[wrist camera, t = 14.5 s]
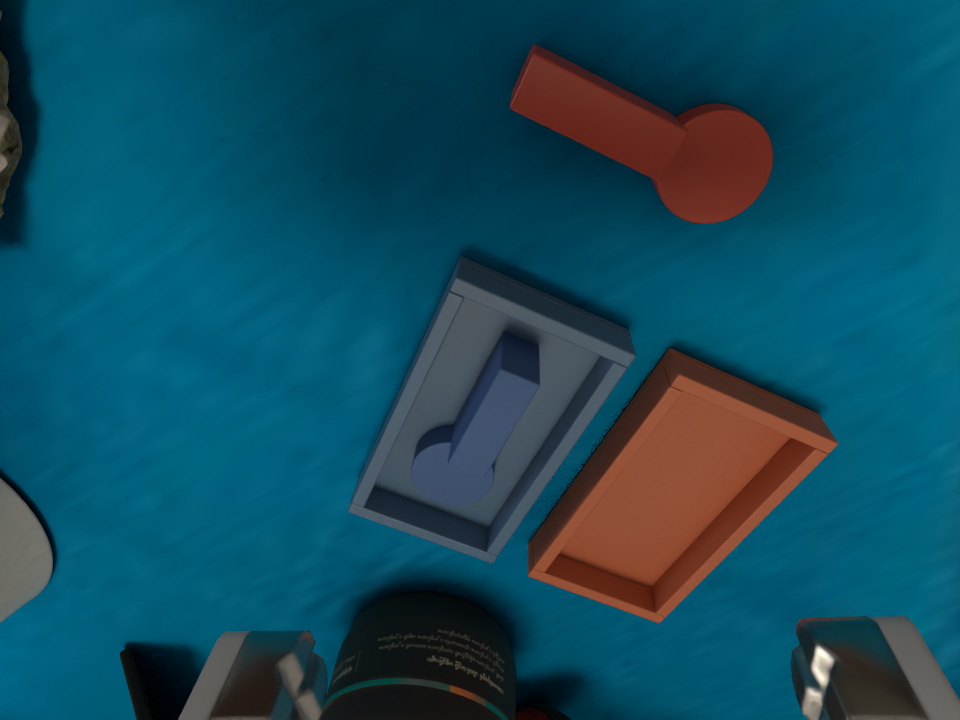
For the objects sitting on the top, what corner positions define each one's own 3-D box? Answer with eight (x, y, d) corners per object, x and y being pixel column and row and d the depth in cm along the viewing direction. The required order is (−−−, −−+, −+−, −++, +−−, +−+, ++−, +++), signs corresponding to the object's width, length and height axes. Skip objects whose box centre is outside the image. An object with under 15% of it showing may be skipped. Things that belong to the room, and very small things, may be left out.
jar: (459, 708, 39) (445, 853, 33) (316, 647, 37) (270, 790, 30) (553, 630, 34) (559, 782, 28) (396, 555, 32) (363, 702, 26)
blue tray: (494, 532, 31) (492, 564, 29) (357, 481, 30) (346, 512, 28) (629, 329, 24) (636, 355, 23) (461, 255, 23) (455, 277, 21)
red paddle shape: (498, 122, 21) (494, 141, 18) (548, 9, 19) (550, 13, 16) (718, 229, 22) (741, 259, 20) (784, 132, 20) (819, 153, 18)
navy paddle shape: (479, 319, 24) (474, 357, 22) (562, 355, 25) (566, 395, 22) (403, 470, 28) (392, 515, 26) (475, 497, 29) (471, 543, 27)
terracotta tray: (652, 589, 32) (659, 623, 30) (527, 543, 31) (527, 576, 29) (819, 413, 26) (839, 443, 24) (669, 347, 25) (679, 374, 23)
